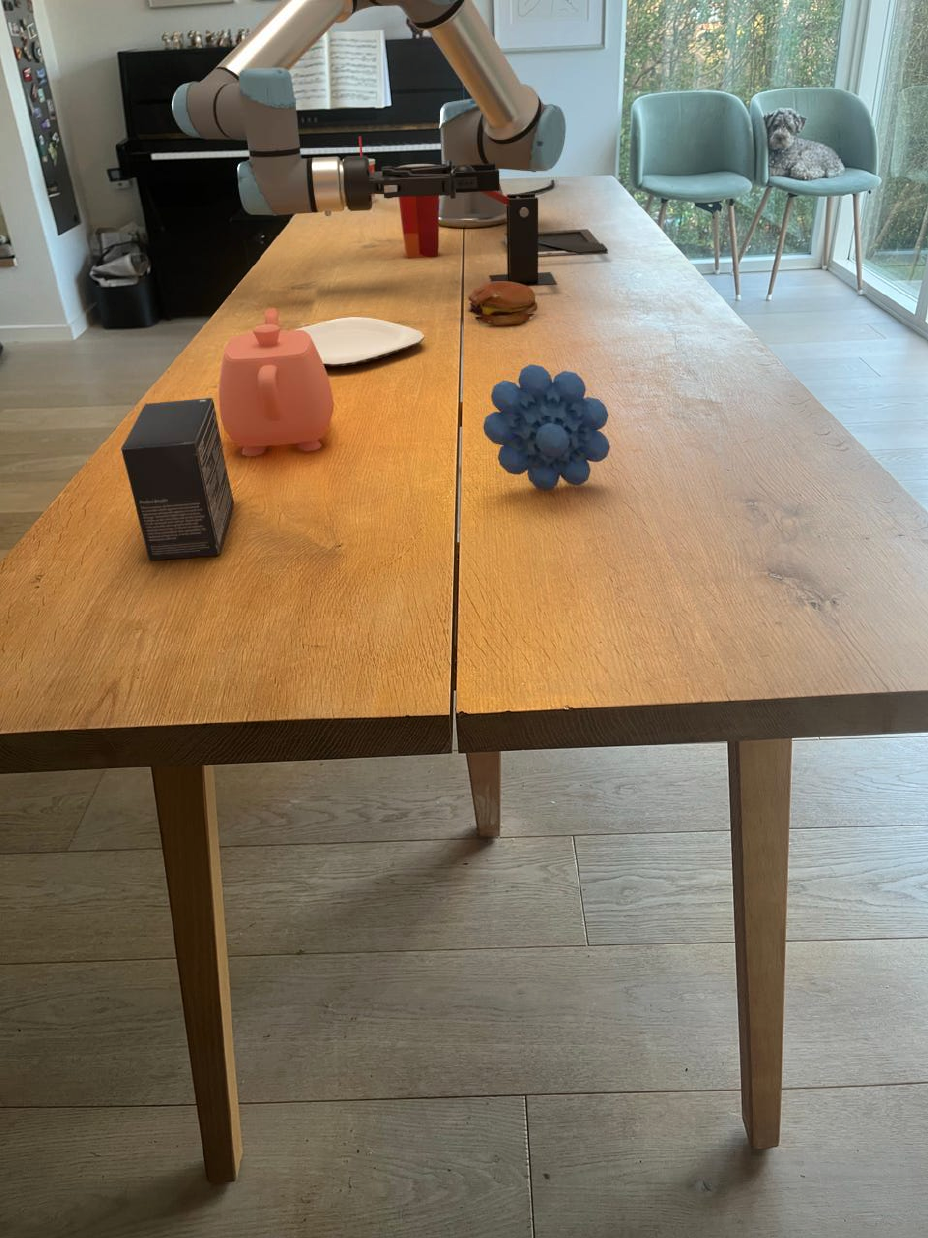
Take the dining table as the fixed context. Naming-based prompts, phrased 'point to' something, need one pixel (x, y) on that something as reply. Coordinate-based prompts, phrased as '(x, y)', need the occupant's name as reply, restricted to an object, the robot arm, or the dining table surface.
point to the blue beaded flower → (547, 427)
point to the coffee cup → (420, 224)
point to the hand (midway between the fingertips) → (496, 176)
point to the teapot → (274, 389)
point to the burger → (502, 302)
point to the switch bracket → (523, 243)
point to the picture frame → (568, 243)
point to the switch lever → (492, 194)
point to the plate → (359, 340)
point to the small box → (179, 479)
